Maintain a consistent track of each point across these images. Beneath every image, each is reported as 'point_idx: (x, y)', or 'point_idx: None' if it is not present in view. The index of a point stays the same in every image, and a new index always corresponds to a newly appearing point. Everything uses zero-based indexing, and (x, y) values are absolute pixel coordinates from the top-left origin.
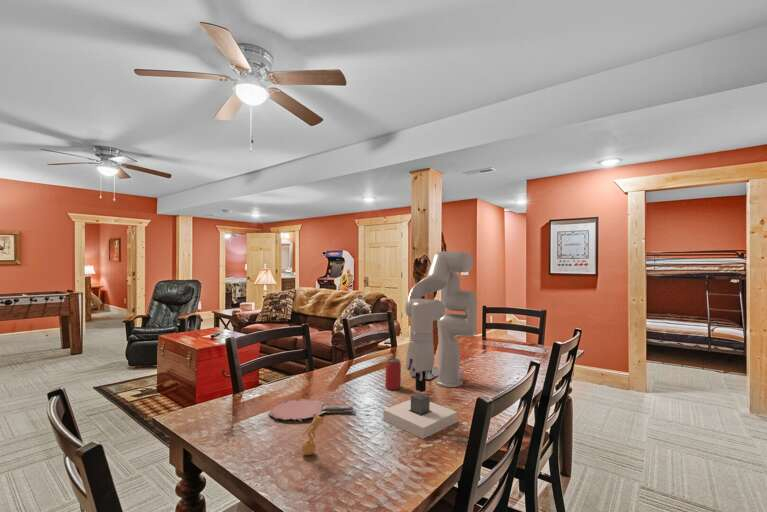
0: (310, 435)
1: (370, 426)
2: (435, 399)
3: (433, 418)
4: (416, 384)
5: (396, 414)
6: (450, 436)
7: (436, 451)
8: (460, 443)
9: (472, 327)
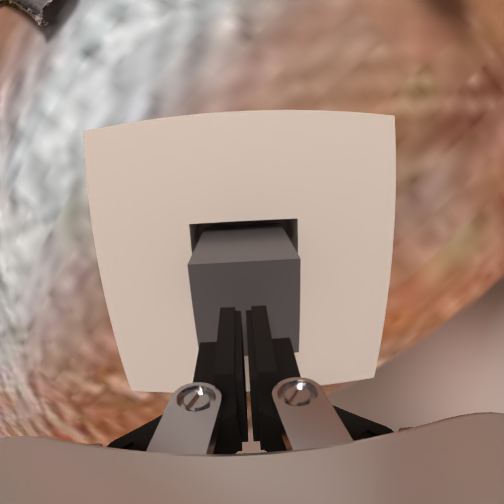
0: None
1: (33, 160)
2: (482, 140)
3: None
4: (197, 364)
5: (101, 224)
6: None
7: (134, 419)
8: None
9: None
